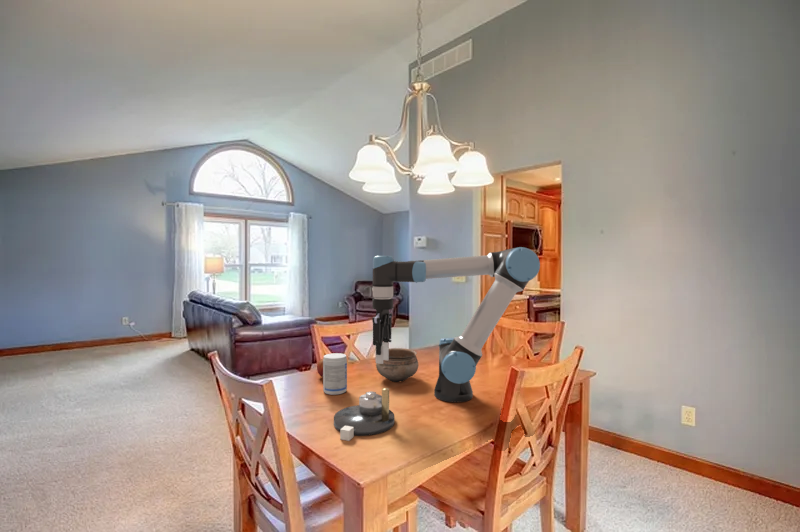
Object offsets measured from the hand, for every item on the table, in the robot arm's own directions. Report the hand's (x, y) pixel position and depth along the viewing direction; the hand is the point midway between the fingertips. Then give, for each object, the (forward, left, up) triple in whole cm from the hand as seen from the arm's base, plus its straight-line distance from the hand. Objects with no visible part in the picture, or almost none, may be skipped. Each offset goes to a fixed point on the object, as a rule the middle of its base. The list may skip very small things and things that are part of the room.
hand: (382, 361), depth 146 cm
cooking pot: (+6, -32, -17) cm, 37 cm away
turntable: (0, +15, -17) cm, 22 cm away
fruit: (+36, -23, -17) cm, 46 cm away
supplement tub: (+24, -8, -17) cm, 30 cm away
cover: (0, +10, -15) cm, 18 cm away
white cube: (0, +27, -17) cm, 32 cm away
